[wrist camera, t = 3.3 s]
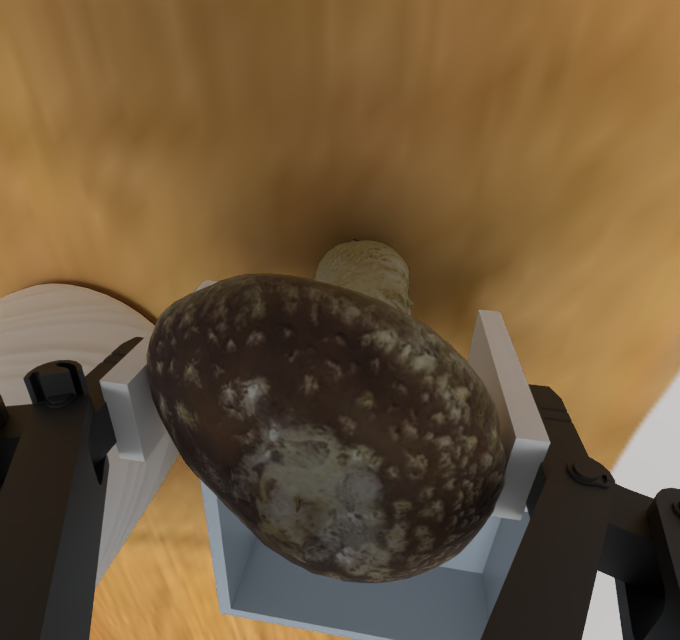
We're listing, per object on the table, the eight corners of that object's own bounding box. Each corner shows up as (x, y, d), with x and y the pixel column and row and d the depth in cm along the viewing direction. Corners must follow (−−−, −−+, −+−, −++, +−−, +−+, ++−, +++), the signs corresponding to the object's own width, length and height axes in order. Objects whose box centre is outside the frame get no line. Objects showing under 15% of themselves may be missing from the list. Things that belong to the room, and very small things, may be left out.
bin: (237, 379, 27) (196, 449, 22) (545, 420, 25) (579, 508, 20) (249, 533, 35) (220, 613, 29) (489, 574, 33) (504, 667, 27)
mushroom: (474, 312, 23) (571, 617, 10) (328, 361, 26) (250, 652, 12) (409, 136, 19) (426, 248, 6) (247, 214, 22) (17, 406, 9)
